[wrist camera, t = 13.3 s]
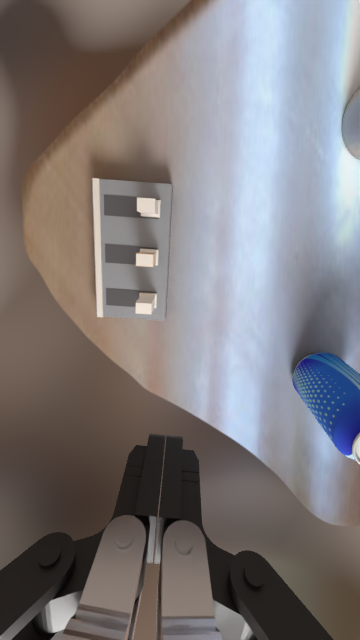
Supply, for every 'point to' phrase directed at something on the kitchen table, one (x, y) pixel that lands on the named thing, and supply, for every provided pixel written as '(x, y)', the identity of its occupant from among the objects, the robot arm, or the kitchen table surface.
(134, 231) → the breaker panel
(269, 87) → the kitchen table surface
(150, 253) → the breaker toggle
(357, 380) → the beer can
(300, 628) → the robot arm
